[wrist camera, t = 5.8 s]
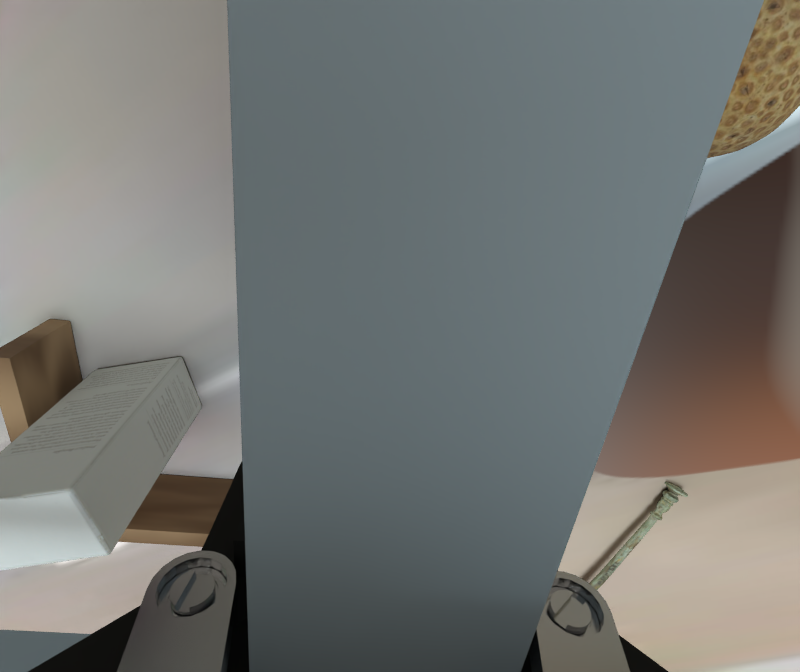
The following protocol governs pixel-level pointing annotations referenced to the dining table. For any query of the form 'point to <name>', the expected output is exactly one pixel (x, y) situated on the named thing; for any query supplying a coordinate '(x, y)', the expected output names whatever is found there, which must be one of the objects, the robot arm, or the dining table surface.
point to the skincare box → (91, 462)
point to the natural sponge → (763, 80)
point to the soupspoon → (640, 533)
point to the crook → (442, 302)
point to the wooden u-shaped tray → (51, 381)
